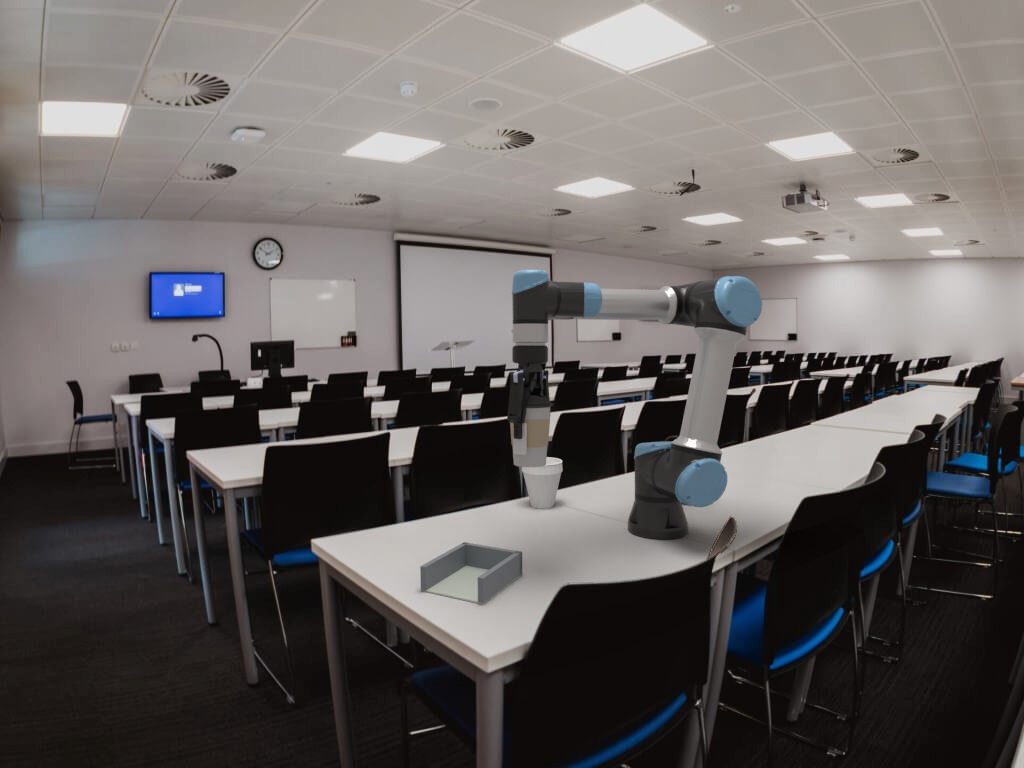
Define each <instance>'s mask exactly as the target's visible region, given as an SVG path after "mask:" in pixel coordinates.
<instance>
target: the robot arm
mask: <svg viewBox="0 0 1024 768" xmlns="http://www.w3.org/2000/svg"><path fill="white" fill-rule="evenodd" d="M512 277H513V278H512V289H511V290H512V291H511V295H512V296H511V297H512V300H511V301H512V329H511V333H512V342H513V343H514V344H515V345H513V347H511V348H512V358H511V359H512V363H513V364H518V365H517V366H518V367H517V371H516V372H515V371H514V372H513V371H511V372H510V374H509V380H510V385H509V386H510V387H509V395H508V396H509V397H508V406H507V415H506V416H507V421H508V423H509V424H510V423H513V446H512V455H513V454H520V455H526V454H527V423H524V421H525V416H526V411H527V410H526V406H527V403H528V398H529V395H536V396H538V395H540V396H541V395H543V396H546V397H547V400H548V401H551V399H550V398H551V397H550V387H549V374H550V373H549V370H548V369H547V370H546V369H545V370H543V366H542V364H547V363H548V361H549V348H548V346H547V345H546V344H548V342H549V321H551V320H565V321H566V320H592V321H593V320H598V321H599V320H601V321H602V320H603V321H604V320H608V321H609V320H611V321H614V320H615V321H616V320H617V321H620V320H621V321H623V320H624V321H625V320H626V321H630V320H631V321H659V323H660V324H662V325H676V326H684V327H693V328H694V332H695V334H696V335H697V336H698V341H697V342H698V343H697V348H696V353H695V356H694V357H695V358H694V363H693V368H692V372H691V373H692V374H691V378H690V384H689V388H688V393H687V396H686V397H687V399H686V404H685V407H684V412H683V416H682V417H683V419H682V422H681V423H682V424H681V428H680V432H679V435H678V436H679V437H678V438H674V440H673V441H668V442H665V441H664V442H661V441H651V442H641V443H638V444H637V445H636V446H635V449H634V456H633V459H634V501H633V504H632V507H631V510H630V513H629V515H628V519H627V531H628V532H629V533H631V534H633V535H635V536H638V537H642V538H646V539H647V538H648V539H655V540H671V539H680V538H683V537H685V536H687V535H688V533H689V524H688V519H687V516H686V513H685V511H684V507H683V505H682V504H684V505H685V506H687V505H688V506H692V507H694V508H705V507H708V506H711V505H713V504H714V503H715V502H717V501H718V500H719V499H720V498H721V497H722V495H723V494H725V492H726V491H725V490H726V488H727V485H728V472H727V471H726V467H725V466H724V465H723V463H722V462H721V461H722V455H723V452H722V450H721V448H720V447H719V445H718V440H719V435H720V431H721V426H722V425H721V424H722V421H723V415H724V411H725V405H726V400H727V395H728V389H729V385H730V380H731V374H732V369H733V365H734V359H735V355H736V350H737V345H738V344H739V343H740V342H741V341H743V340H744V339H746V335H747V330H748V327H749V326H752V325H753V324H754V323H755V322H756V321H758V319H759V318H760V317H761V314H762V310H763V300H762V299H763V298H762V295H761V292H760V291H759V290H758V288H757V285H756V284H755V283H754V282H753V281H752V280H750V279H749V278H748V277H745V276H739V275H734V276H733V275H732V276H731V275H726V276H722V277H720V278H719V277H718V278H713V279H711V278H710V279H706V280H700V281H695V282H690V283H685V284H678V285H664V286H661V288H659V289H639V288H637V289H636V288H629V289H628V288H601V287H600V286H599V284H596V283H594V282H586V281H554V280H550V278H549V272H548V271H546V270H543V269H542V270H540V269H521V270H518V271H516V272H515V273H514V274H513V276H512ZM550 413H552V410H551V409H550Z"/></svg>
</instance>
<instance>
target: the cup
mask: <svg viewBox="0 0 1024 768" xmlns="http://www.w3.org/2000/svg"><path fill="white" fill-rule="evenodd" d="M563 471H564V470H563V460H562V459H561V458H558V457H551V456H550V457H549V456H547V457H546V465H545V466H541V467H521V472H522V475H523V477H524V482H525V486H526V490H527V495H528V499H529V503H530V505H531V508H533V509H540V510H546V509H552V508H554V506H555V503H556V498H557V495H558V494H557V493H558V490H559V489H558V488H559V483H560V479H561V476H562V472H563Z"/></svg>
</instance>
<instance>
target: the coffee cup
mask: <svg viewBox="0 0 1024 768" xmlns="http://www.w3.org/2000/svg"><path fill="white" fill-rule="evenodd" d="M551 403H552V401H551V400H550V401H548V400H547V397H546V396H543V395H541V396H540V395H538V396H536V395H531V394H530V395H529V398H528V403H527V406H526V410H527V411H526V416H525V421H524V423H527V454H526V455H520V454H513V453H512V458H513V465H514V466H515V467H519V468H522V467H541V466H545V465H546V457H548V455H547V454H548V446H549V437H550V426H551V425H550V424H551V412H550V410H551V407H552V405H551ZM509 425H510V440H511V441H510V442H511V443H510V444H511V446H512V447H513V423H509Z"/></svg>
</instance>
